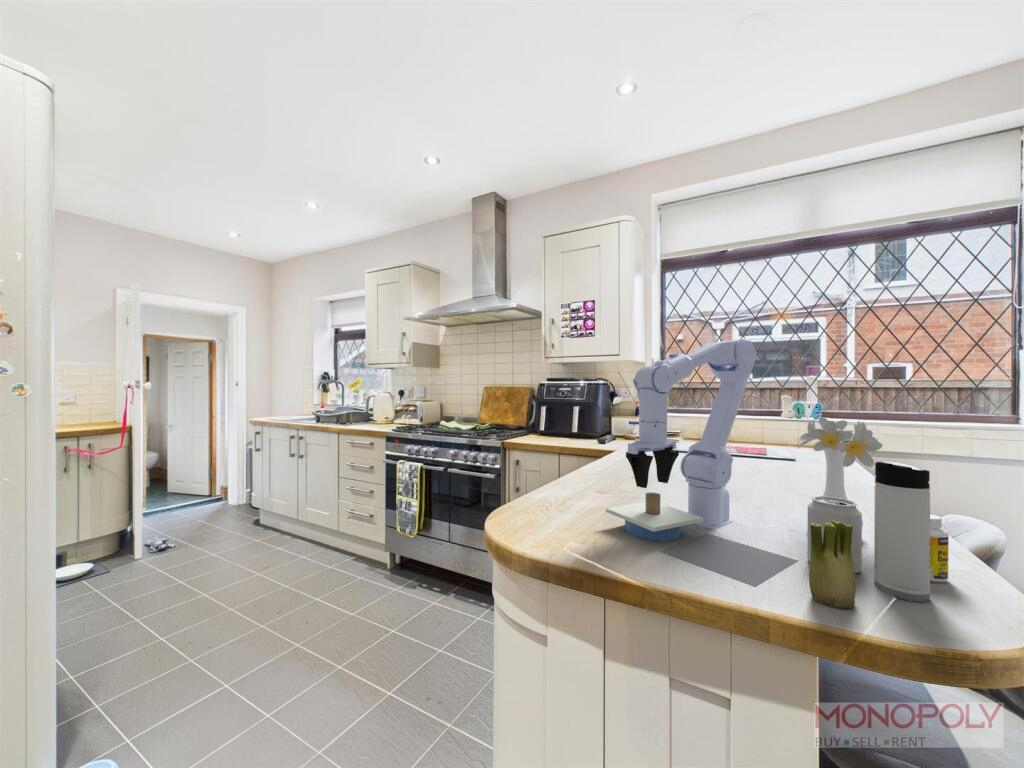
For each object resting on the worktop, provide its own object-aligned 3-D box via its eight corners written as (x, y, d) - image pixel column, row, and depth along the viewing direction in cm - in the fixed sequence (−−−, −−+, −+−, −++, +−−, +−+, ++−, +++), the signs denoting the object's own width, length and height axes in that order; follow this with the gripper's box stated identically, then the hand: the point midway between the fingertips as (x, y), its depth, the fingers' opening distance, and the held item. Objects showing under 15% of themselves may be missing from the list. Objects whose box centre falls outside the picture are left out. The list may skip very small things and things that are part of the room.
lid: (652, 504, 99) (652, 484, 99) (703, 521, 86) (703, 498, 86) (605, 511, 92) (605, 490, 92) (653, 531, 80) (653, 506, 80)
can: (870, 581, 68) (870, 507, 68) (815, 573, 70) (815, 502, 70) (850, 563, 75) (851, 496, 75) (801, 557, 77) (802, 492, 77)
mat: (706, 535, 88) (706, 533, 88) (798, 562, 75) (798, 560, 75) (659, 553, 78) (659, 551, 78) (755, 589, 64) (755, 586, 64)
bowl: (645, 522, 97) (646, 506, 97) (690, 536, 88) (690, 518, 88) (615, 531, 90) (615, 514, 90) (659, 547, 82) (659, 528, 82)
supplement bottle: (943, 587, 66) (943, 522, 66) (897, 573, 71) (897, 513, 71) (952, 578, 69) (952, 517, 69) (907, 566, 74) (907, 508, 74)
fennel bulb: (810, 607, 60) (810, 523, 60) (804, 592, 64) (805, 514, 64) (861, 617, 57) (862, 530, 57) (852, 601, 61) (852, 520, 61)
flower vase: (837, 551, 80) (838, 421, 80) (782, 520, 99) (782, 415, 99) (909, 553, 79) (909, 422, 79) (840, 522, 98) (840, 416, 98)
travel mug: (861, 583, 67) (862, 459, 67) (899, 582, 67) (899, 459, 68) (901, 603, 61) (901, 466, 61) (942, 602, 61) (942, 466, 61)
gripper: (656, 419, 97) (656, 477, 97) (616, 421, 88) (615, 485, 88) (684, 421, 91) (684, 482, 91) (644, 424, 83) (643, 492, 83)
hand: (652, 484), depth 89 cm, fingers open, 7 cm apart
